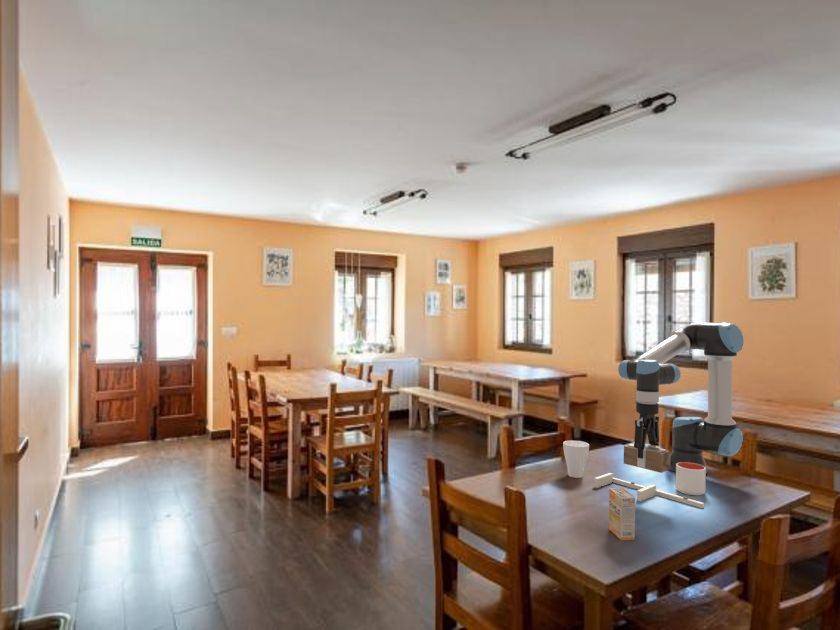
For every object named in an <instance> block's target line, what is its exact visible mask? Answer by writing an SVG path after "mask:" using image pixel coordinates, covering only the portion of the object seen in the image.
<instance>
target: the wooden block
mask: <svg viewBox="0 0 840 630" xmlns="http://www.w3.org/2000/svg"><path fill="white" fill-rule="evenodd" d="M644 449H645V450H646V468H642V467H638V466H637V448H634V442H632V443H628V444H627V445H623V464H624V465H628V466H632V467H637V468H641V469H644V470H649V471H652V472H657V473H660V474H662V473H664V472H666V471H670V460H671V453H672V450H667V449H664V448H662V447H661V448H660V447H657V446H656V447H652V446H648V444H645V448H644Z"/></svg>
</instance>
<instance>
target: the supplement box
mask: <svg viewBox="0 0 840 630" xmlns="http://www.w3.org/2000/svg"><path fill="white" fill-rule="evenodd" d="M608 490H609V491H608V530H609V531H610V532H612V534H613V535H615V536H616V537H617V538H618V539H619V540H620V541H635V539H636V538H635V533H636V532H635V531H636V497H635V496H634V495H632V494H631V493H629V491H627V490H626V489H624V488H623V487H619V488H618V487H615V488H614V487H613V488H611V487H610V488H609V489H608Z"/></svg>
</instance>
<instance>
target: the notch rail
mask: <svg viewBox="0 0 840 630" xmlns="http://www.w3.org/2000/svg"><path fill="white" fill-rule="evenodd" d="M612 482H613V483H615V484H617V485H620V486H621V485H622V486H624V487H627V488H631V489H634V490H636V501H639V502H642V501H645V500H648V499H649V498H651V497H655V496H659V497H663V498H666V499H668V500H673V501H676V502H679V503H682V504H686V505H689V506H693V507H697V508H699V509H700V508H701V509H704V508H705V503H704V502H702V501H698V500H695V499H691V498H688V497H687V496H680V495H676V494H674V493H670V492H666V491H662V490H660V489H657V485H655V484H650V485H647V486H645V485H641V484H638V483H636V482H634V481H631V482H630V481H628V480H623V479H620V478H616V477H614V473H612V472H608V473H606V474H602V475H599V476H596V477H594V481H593V487H594V488H596V489H598V488H601V486H602V487H604V486H606V485H609V484H612Z"/></svg>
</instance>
